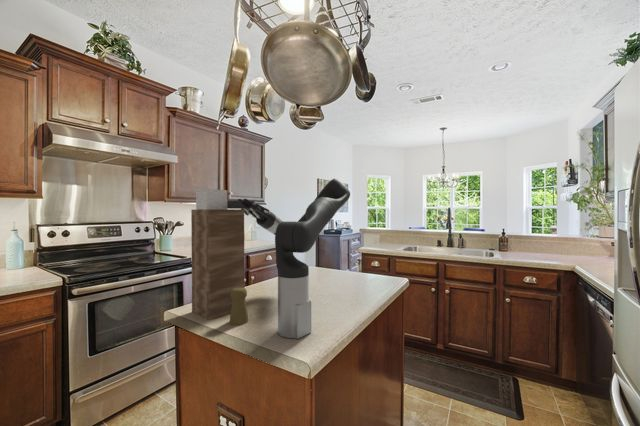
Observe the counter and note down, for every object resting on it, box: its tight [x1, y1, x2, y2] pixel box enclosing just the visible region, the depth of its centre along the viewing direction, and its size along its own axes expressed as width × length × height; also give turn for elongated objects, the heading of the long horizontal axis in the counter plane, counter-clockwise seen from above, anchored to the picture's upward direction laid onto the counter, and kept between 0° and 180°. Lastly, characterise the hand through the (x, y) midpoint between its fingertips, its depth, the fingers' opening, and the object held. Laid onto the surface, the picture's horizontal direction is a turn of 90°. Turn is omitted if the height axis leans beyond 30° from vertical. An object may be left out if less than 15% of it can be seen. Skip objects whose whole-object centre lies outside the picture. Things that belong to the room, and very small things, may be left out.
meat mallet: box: [195, 188, 256, 210], centre depth 111 cm, size 7×22×7 cm, turn 141°
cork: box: [229, 287, 249, 326], centre depth 97 cm, size 6×6×11 cm
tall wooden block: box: [190, 209, 245, 320], centre depth 108 cm, size 12×14×37 cm
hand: (240, 200), depth 116 cm, fingers closed on meat mallet, 3 cm apart
